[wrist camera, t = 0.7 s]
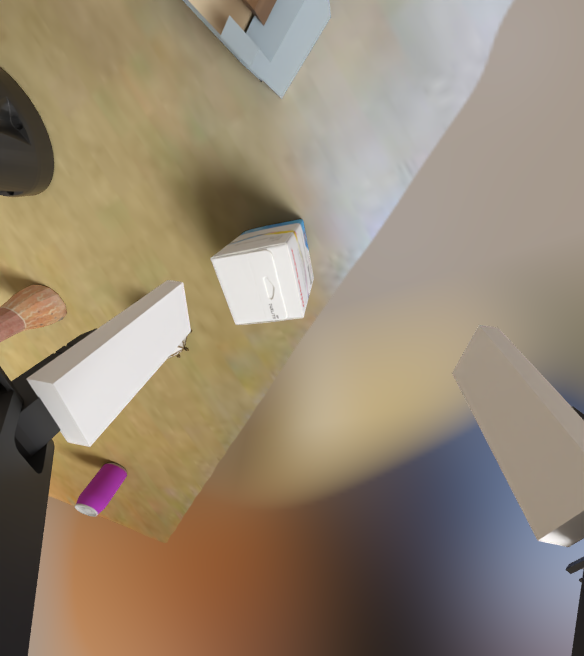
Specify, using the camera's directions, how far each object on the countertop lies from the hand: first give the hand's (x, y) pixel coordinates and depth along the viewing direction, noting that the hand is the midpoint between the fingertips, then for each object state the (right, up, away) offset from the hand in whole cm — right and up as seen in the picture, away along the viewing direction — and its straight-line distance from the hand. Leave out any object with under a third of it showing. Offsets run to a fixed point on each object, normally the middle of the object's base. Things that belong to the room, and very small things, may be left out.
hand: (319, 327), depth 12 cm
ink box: (-3, +10, +25) cm, 28 cm away
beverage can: (-56, -44, +70) cm, 100 cm away
